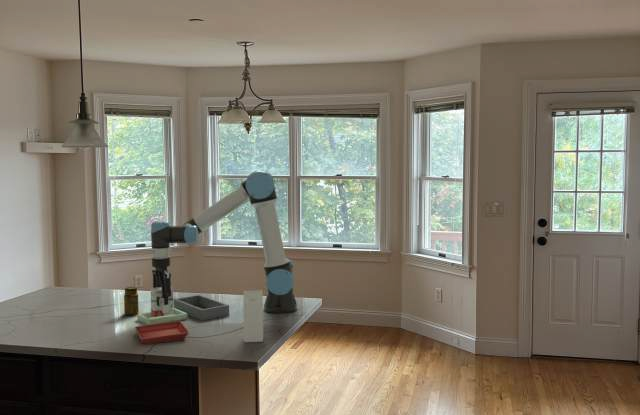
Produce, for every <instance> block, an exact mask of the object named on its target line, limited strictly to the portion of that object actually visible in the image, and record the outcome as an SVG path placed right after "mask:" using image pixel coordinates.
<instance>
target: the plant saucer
mask: <svg viewBox="0 0 640 415" xmlns="http://www.w3.org/2000/svg"><path fill="white" fill-rule="evenodd" d="M134 329H135V330H136V332H137V334H138V337H139V339H140V340H141V342H142V343H143V344H144V345H149V344H150V345H151V344H159V343H164V342H172V341H173V342H174V341H179V340H184V339H185V338H186V337H187V336H188V335H189V332H190V331H189V330H188V329H187V328H186V326H185V325H184V324H183V322H182V320H181V321H176V322H168V323H160V324H153V325H146V324H144V325H138V326H135V327H134Z"/></svg>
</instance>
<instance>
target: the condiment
mask: <svg viewBox="0 0 640 415" xmlns="http://www.w3.org/2000/svg"><path fill="white" fill-rule="evenodd" d="M123 308H124V312H122V318H134V317H137V314H141V313H140V310H139V293H138V287H136V286H127V287H126V288H124V295H123Z"/></svg>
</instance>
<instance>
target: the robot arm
mask: <svg viewBox="0 0 640 415" xmlns="http://www.w3.org/2000/svg"><path fill="white" fill-rule="evenodd" d="M277 200H278V197H277V193H276V188H275V179H274V177H273V175H272V174H271V173H270V172H269V171H266V170H263V169H259V170H255V171H252V172H251V173H250V174H248V177H247V178H246V179H245V180H244V181H243V182H241V183H240V186H239V187H238V188H236V189H235V190H233V191H231V192H230V193H229V194H227V195H225V196H224V197H222V198H221V199H220V200H218V201H216V202H215V203H213V204H212V205H211V206H209V207H208V208H206V209H204V210H203V211H201V212H200V213H199V214H197V215H195V216H193V217H192V218H191V219H189V220H187V221H186V222H184V223H183V224H181V225H170V222H169V221H167V220H157V221H153V222H152V223H151V224H150V236H151V237H150V238H151V239H150V241H151V243H150V244H151V251H150V253H151V257H152V259H151V267H153V268H154V269H153V270H151V273H152V288H156V287H161V288H162V295H163V296H162V297H161V298H162V313H164V312H169V300H168V297H169V296H171V287H172V286H171V285H172V284H171V283H172V282H171V280H172V278H171V277H172V274H171V272H168V267H170V265H171V258H170V257H171V248H170V247H171V245H170V244H196V243H198V240H199V235H200V234H202V233H203V232H204V231H205V230H207V229H209V228H210V227H212V226H213V225H215V224H217V223H218V222H220V221H221V220H222V219H224V218H226V217H227V216H229V215H230V214H232V213H233V212H234V211H237V210H238V209H239V208H241V207H243V206H244V205H245V204H247V203H248V202H249V203H250V205H251V206H253V207H254V209H255V214H256V220H257V225H258V229H259V233H260V238H261V243H262V244H261V245H262V247H263V254H264V257H265V262H264V264H263V271H264V275H265V276H264V277H265V284H266V287H267V288H266V289H267V294H266V298H265V301H264V302H263V311H264V312H267V313H273V314H285V313H286V314H287V313H292V312H295V311H297V310H298V304H297V300H296V296H295V294H294V283H295V280H294V272H293V271H294V270H293V268H294V264H293V260H292V259H288V258H287V257H286V254H285V253H286V252H285V248H284V244H283V238H282V234H281V233H282V232H281V230H280V225H279V218H278V214H277V209H276V205H275V204H276V201H277Z"/></svg>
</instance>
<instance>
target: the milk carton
mask: <svg viewBox="0 0 640 415" xmlns="http://www.w3.org/2000/svg"><path fill="white" fill-rule="evenodd" d="M263 299H264V296H263V290H262V289H261V290H243V300H242V301H243V343H263V342H264V302H263V301H264V300H263Z"/></svg>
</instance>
